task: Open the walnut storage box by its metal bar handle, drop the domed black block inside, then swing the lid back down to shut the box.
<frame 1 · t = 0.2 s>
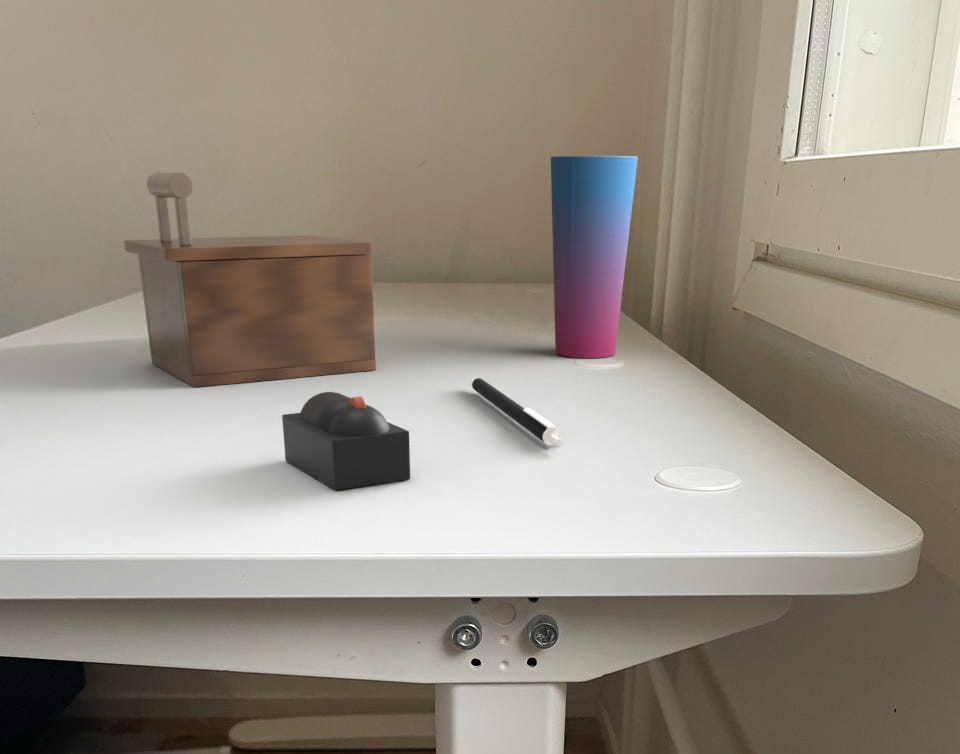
chest: (262, 366, 80), on the table
domed black block: (346, 469, 52), on the table
pen: (509, 417, 63), on the table
cup: (585, 355, 86), on the table
lid: (243, 213, 75), point 11 cm above the table, hinge at 0.0°
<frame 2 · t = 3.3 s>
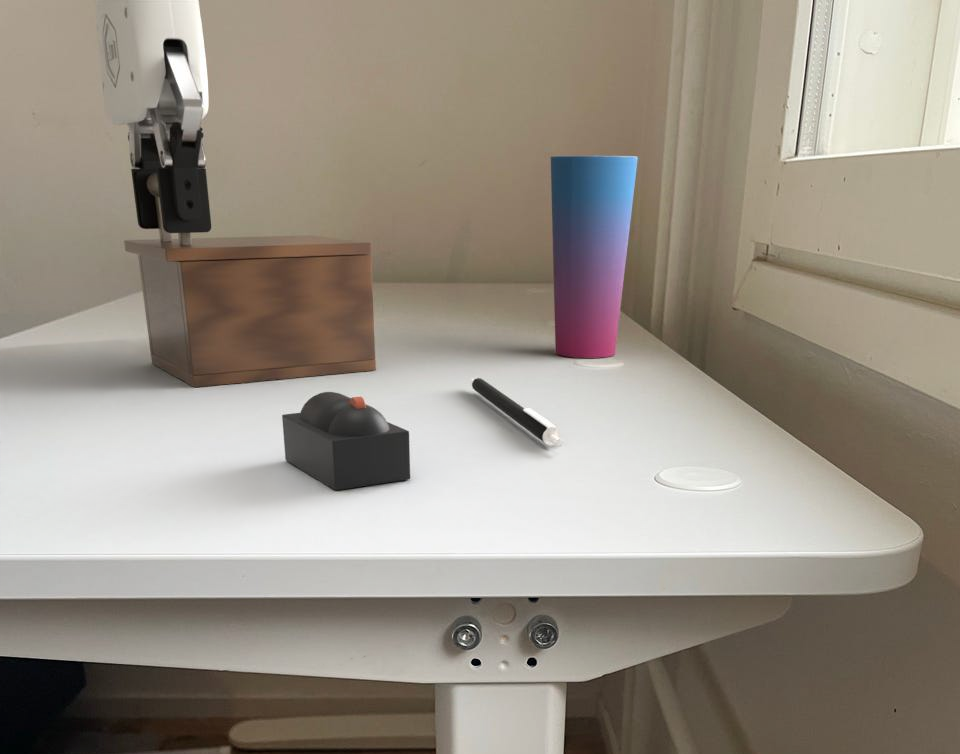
hand: (173, 227, 73), 10 cm above the table, tool pointing down, fingers closed on lid, 6 cm apart
lid: (243, 213, 75), point 11 cm above the table, hinge at 0.0°, touching gripper
everything else where it was.
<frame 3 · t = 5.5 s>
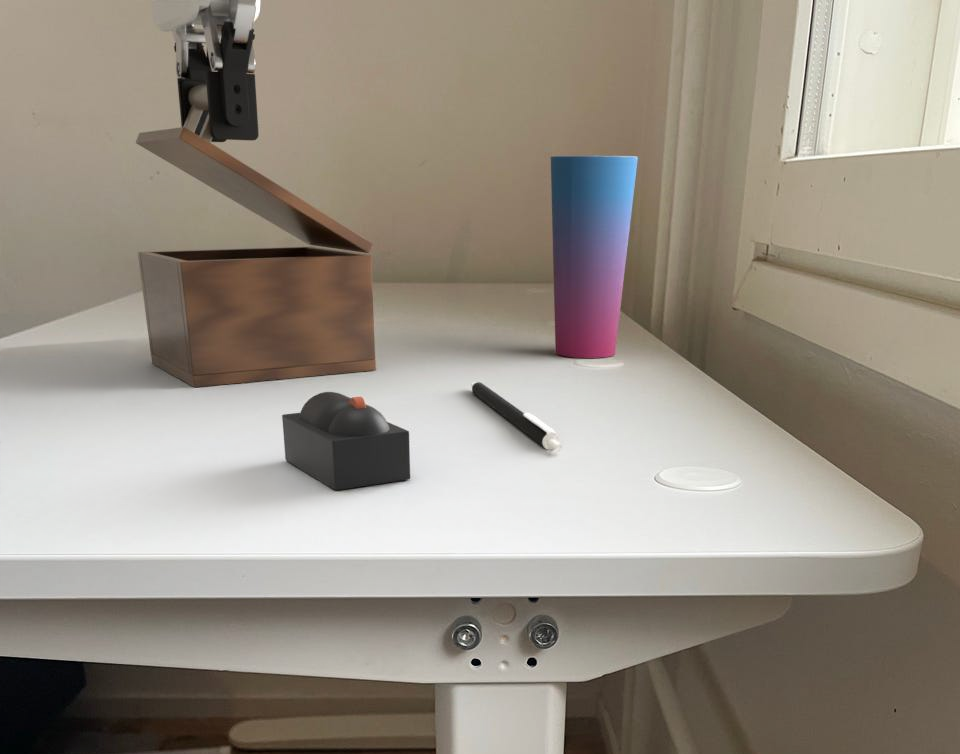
hand: (219, 137, 72), 16 cm above the table, tool pointing down, fingers closed on lid, 6 cm apart
lid: (266, 162, 74), point 14 cm above the table, hinge at 29.4°, touching gripper
everything else where it was.
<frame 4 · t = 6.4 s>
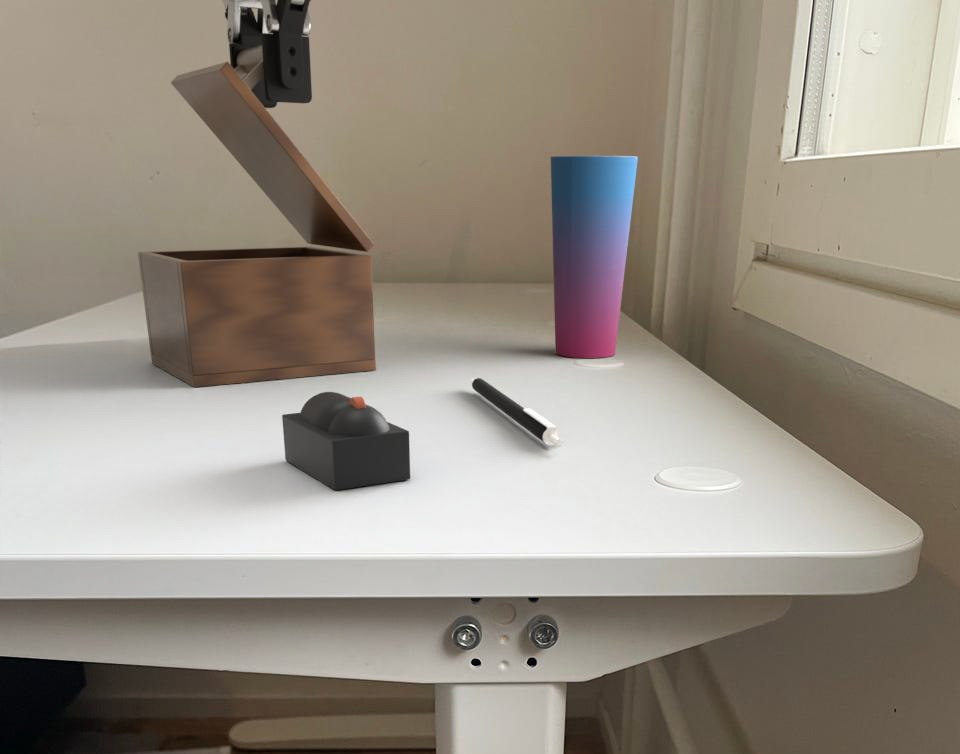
hand: (271, 102, 73), 18 cm above the table, tool pointing down, fingers closed on lid, 6 cm apart
lid: (293, 141, 75), point 16 cm above the table, hinge at 48.7°, touching gripper
everything else where it was.
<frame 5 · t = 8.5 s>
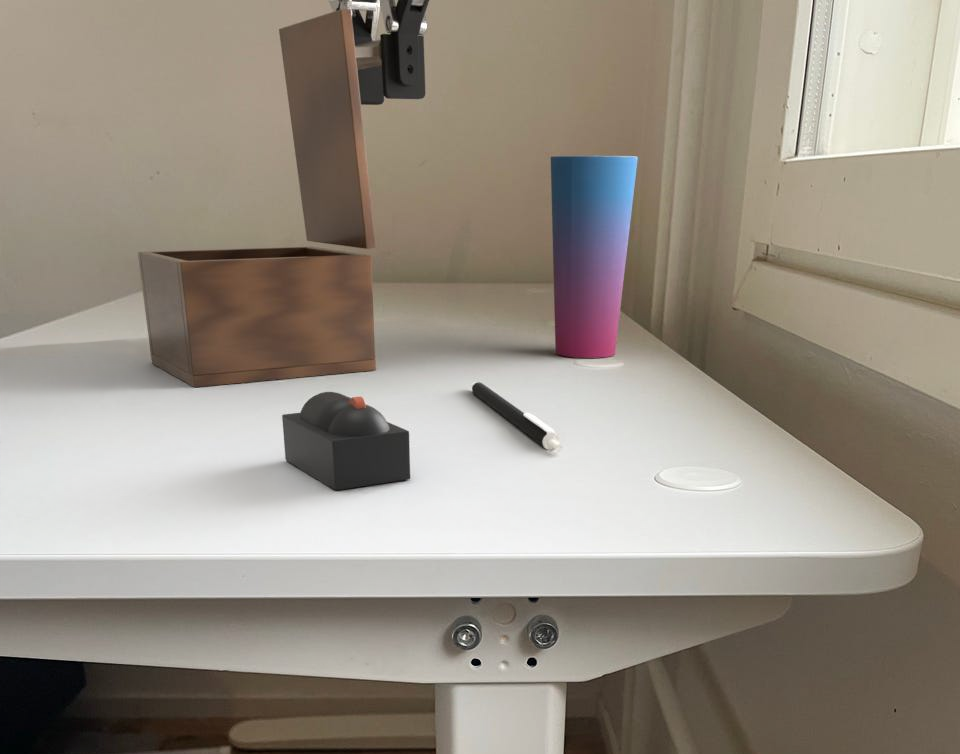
hand: (383, 99, 77), 19 cm above the table, tool pointing down, fingers closed on lid, 6 cm apart
lid: (354, 134, 77), point 16 cm above the table, hinge at 85.5°, touching gripper
everything else where it was.
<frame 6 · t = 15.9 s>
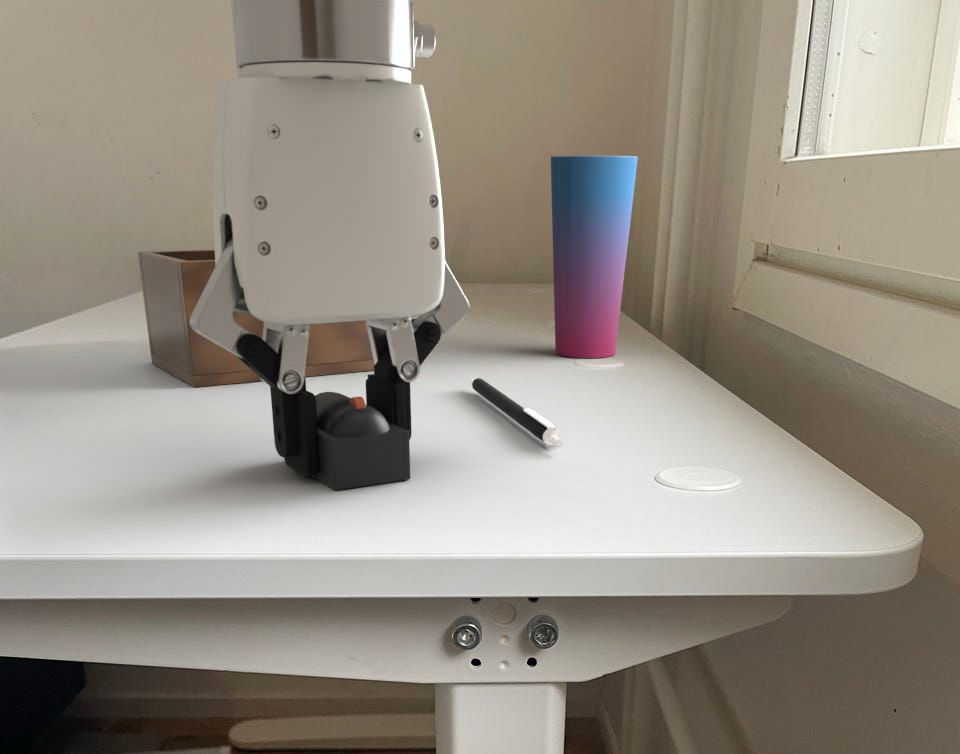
hand: (345, 459, 51), 1 cm above the table, tool pointing down, fingers closed on domed black block, 4 cm apart
domed black block: (346, 469, 52), on the table, touching gripper
lid: (357, 135, 77), point 16 cm above the table, hinge at 86.9°
everything else where it was.
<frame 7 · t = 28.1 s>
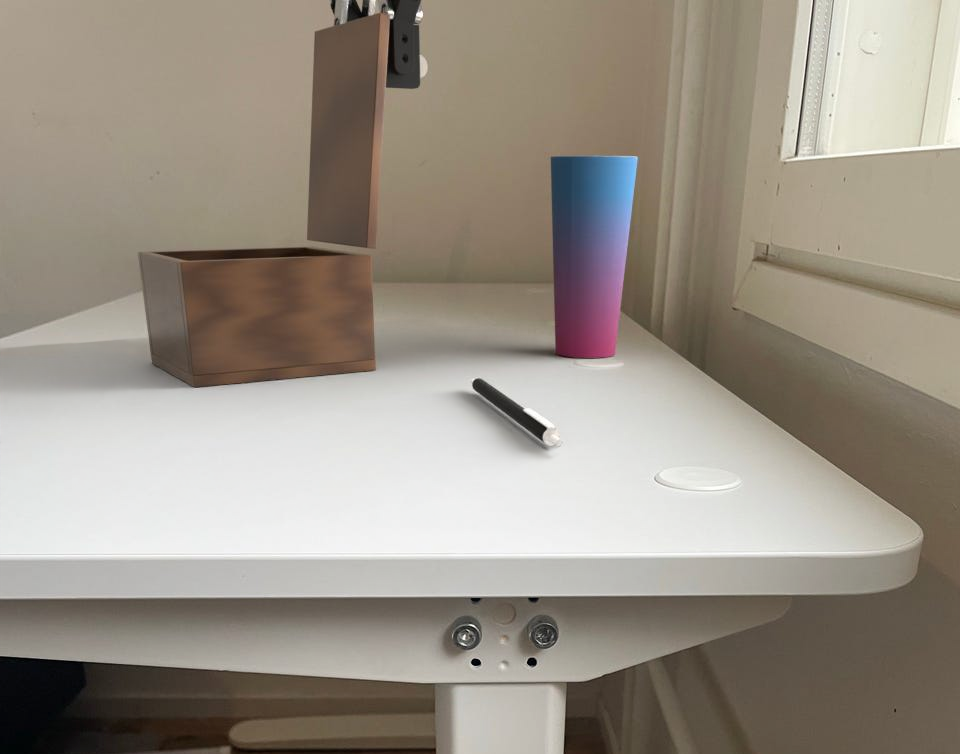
hand: (378, 88, 76), 20 cm above the table, tool pointing down, fingers closed on lid, 6 cm apart
domed black block: (249, 357, 79), point 1 cm above the table, touching chest
lid: (372, 142, 78), point 16 cm above the table, hinge at 96.6°, touching gripper
everything else where it was.
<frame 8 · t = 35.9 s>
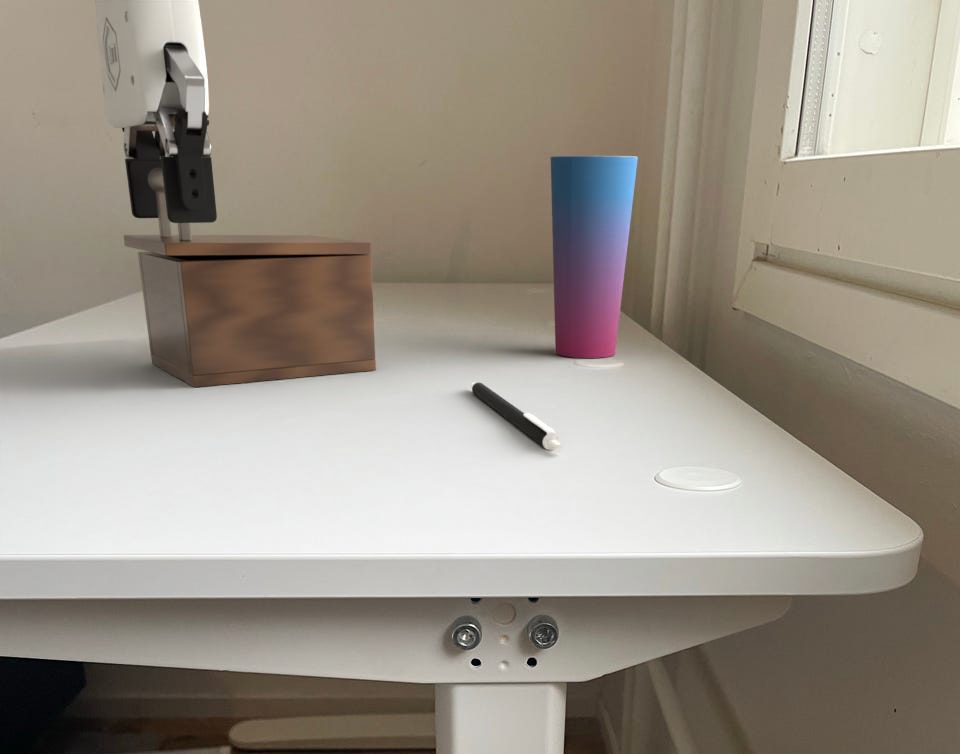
hand: (173, 219, 72), 11 cm above the table, tool pointing down, fingers open, 9 cm apart
lid: (243, 210, 75), point 11 cm above the table, hinge at 1.4°
everything else where it was.
at the end: lid reached +97° during the clip, +1° at the end; domed black block 0.9 cm off-centre in the chest, point 0.8 cm above the chest's base; lid at +1° (first picture: +0°) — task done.
